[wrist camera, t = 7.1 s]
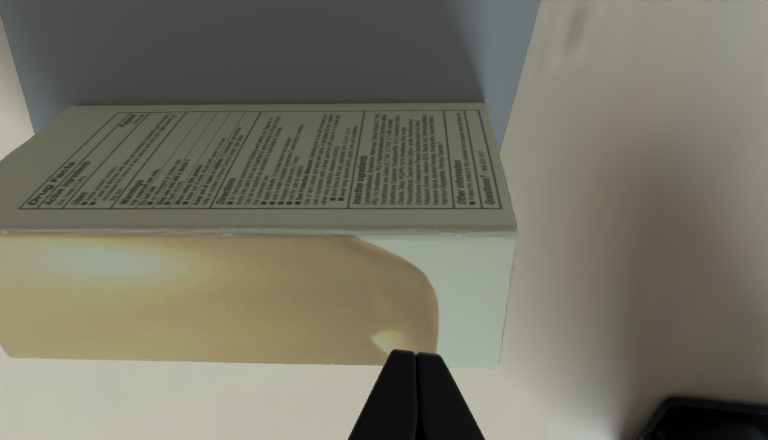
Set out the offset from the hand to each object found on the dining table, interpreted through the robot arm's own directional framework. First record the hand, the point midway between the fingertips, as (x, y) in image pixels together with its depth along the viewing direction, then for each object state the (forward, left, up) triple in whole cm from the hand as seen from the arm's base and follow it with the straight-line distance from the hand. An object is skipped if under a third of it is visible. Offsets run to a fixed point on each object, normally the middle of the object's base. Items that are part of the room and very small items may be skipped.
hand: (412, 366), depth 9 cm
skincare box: (-3, +1, -5) cm, 6 cm away
